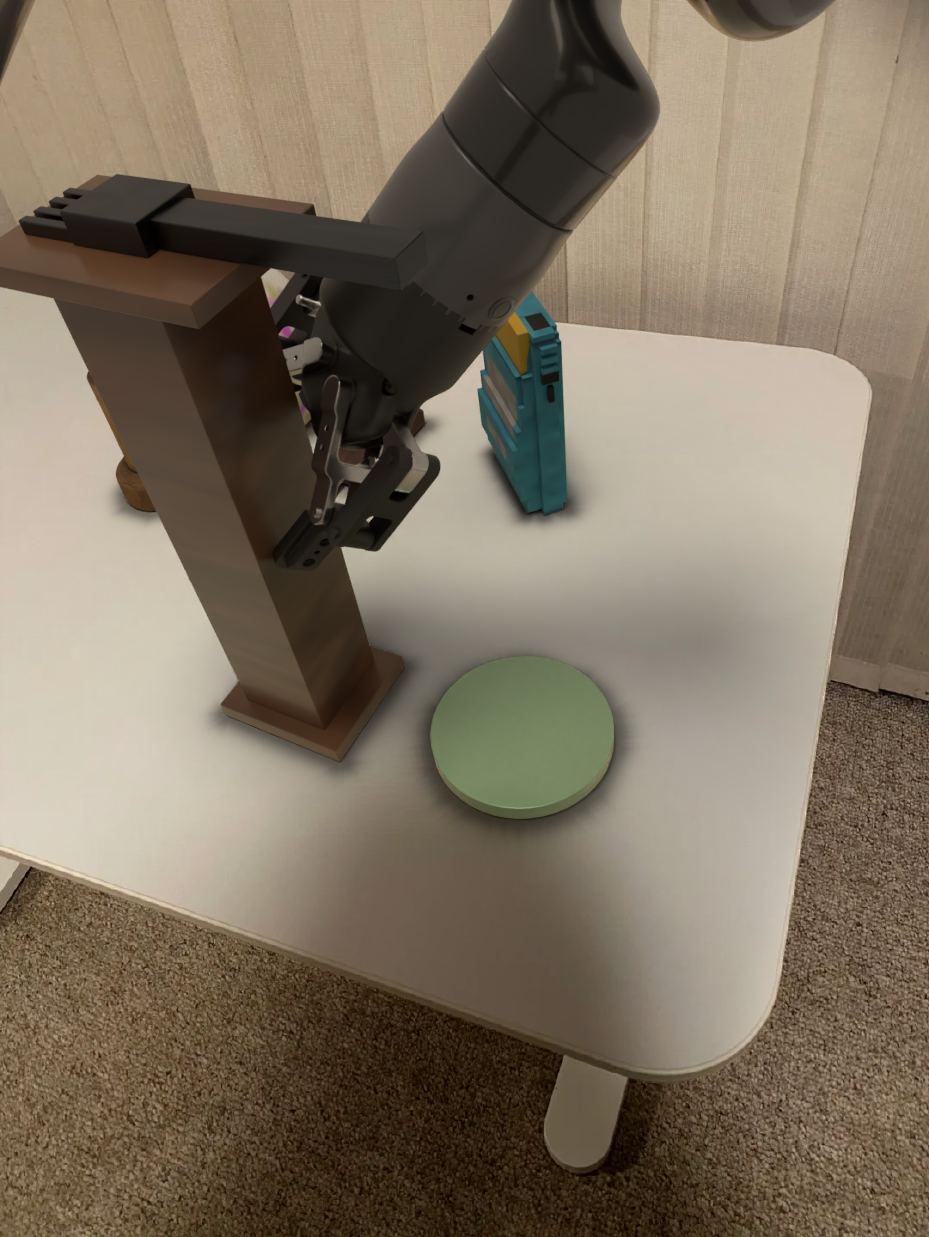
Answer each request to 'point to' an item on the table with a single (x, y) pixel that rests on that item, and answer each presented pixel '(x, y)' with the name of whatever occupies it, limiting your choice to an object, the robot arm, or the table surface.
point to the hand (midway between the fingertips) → (264, 500)
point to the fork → (228, 232)
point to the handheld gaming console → (527, 406)
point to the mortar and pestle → (125, 465)
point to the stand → (220, 465)
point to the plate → (522, 737)
